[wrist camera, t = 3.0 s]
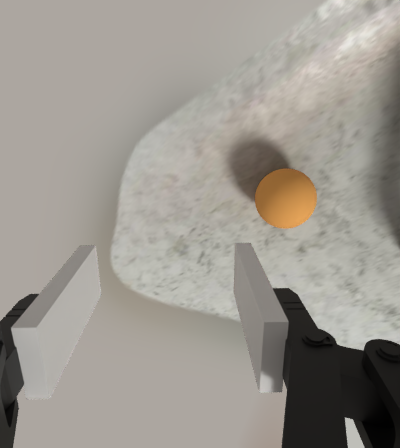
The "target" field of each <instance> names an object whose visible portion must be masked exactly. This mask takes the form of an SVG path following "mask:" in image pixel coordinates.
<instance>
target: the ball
mask: <svg viewBox="0 0 400 448" xmlns="http://www.w3.org/2000/svg"><path fill="white" fill-rule="evenodd" d="M316 202H317V194H316V189H315V187H314V185H313V183H312V181H311V180H310V179H309V178H308V177H307V176H306V175H305V174H303V173H302V172H300V171H297V170H294V169H288V168H286V169H279V170H275V171H273V172H271V173H269V174H268V175H267V176H265V177H264V178H263V179H262V181H261V182H260V183H259V185H258V187H257V190H256V194H255V204H256V208H257V211H258V213H259V214H260V216H261V217H262V218H263V219H264V220H265V221H266V222H267V223H269V224H270V225H272V226H275V227H278V228H293V227H296V226H298V225H301V224H302V223H304V222H305V221H306V220H307V219H308V218H309V217H310V216H311V215H312V213H313V211H314V209H315V206H316Z"/></svg>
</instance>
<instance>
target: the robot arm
mask: <svg viewBox="0 0 400 448" xmlns="http://www.w3.org/2000/svg"><path fill="white" fill-rule="evenodd" d="M234 295H235V299H236V303H237V307H238V311H239V315H240V319H241V323H242V326H243V330H244V334H245V338H246V342H247V346H248V350H249V354H250V358H251V362H252V366H253V370H254V373H255V378H256V382H257V386H258V389H259V393H263V392H264V393H265V392H282V386H283V379H284V382H285V385H286V388H287V397H286V407H285V417H284V428H283V438H282V448H348V446H347V436H346V427H345V417H346V418H350V419H353V420H354V423H355V425H356V428H357V430H358V433H359V435H360V437H361V440H362V442H363V444H364V446H365V448H400V345H399V344H397V343H394V342H392V341H388V340H382V339H375V340H370V341H368V342H367V343H366V345H365V347H364V351H362V350H357V349H352V348H347V347H343V346H340V345H337V343H336V341H335V339H334V338H333V337H332V336H331V335H330V334H329V333H327V332H325V331H324V330H321V329H318V328H317V326H316V324H315V323H314V321H313V320H312V318H311V316H310V315H309V313H308V311H307V310H306V308H305V306H304V305H303V303H302V301H301V300H300V298H299V296H298V295H297V294H296V293H294V292H293V291H292V290H290V289H289V288H272V286H271V284H270V282H269V280H268V278H267V276H266V274H265V272H264V270H263V268H262V266H261V264H260V262H259V260H258V258H257V255H256V253H255V251H254V249H253V247H252V245H251V243H235V265H234ZM100 296H101V288H100V279H99V270H98V261H97V252H96V245H83V246H79V248H78V249H77V250H76V251H75V252H74V253H73V255H72V256H71V257H70V258H69V259H68V261H67V262H66V263H65V264H64V265H63V267H62V268H61V269H60V270H59V271H58V273H57V274H56V275H55V276H54V277H53V278H52V280H51V281H50V282H49V283H48V284H47V286H46V287H45V288H44V289H43V290H42V292H41V293H40V294H30V295H28V296H26V297H25V298H24V299H21V300H20V301H18V303H17V304H16V305H15V306H14V307H13V308H12V310H11V311H9V312H8V314H7V315H6V317H4V318H3V319H2V320H1V321H0V448H13V443H14V436H15V429H16V423H17V416H18V409H19V408H18V402H17V395H18V393H19V392H20V390H21V388H22V387H23V386H24V390H25V395H26V399H50V398H51V396H52V394H53V392H54V390H55V388H56V385H57V383H58V381H59V379H60V377H61V375H62V373H63V371H64V369H65V367H66V365H67V363H68V361H69V359H70V357H71V355H72V353H73V351H74V349H75V347H76V345H77V342H78V341H79V339H80V337H81V335H82V332H83V331H84V328H85V326H86V324H87V322H88V320H89V318H90V316H91V314H92V312H93V310H94V308H95V306H96V304H97V302H98V300H99V298H100Z"/></svg>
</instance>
